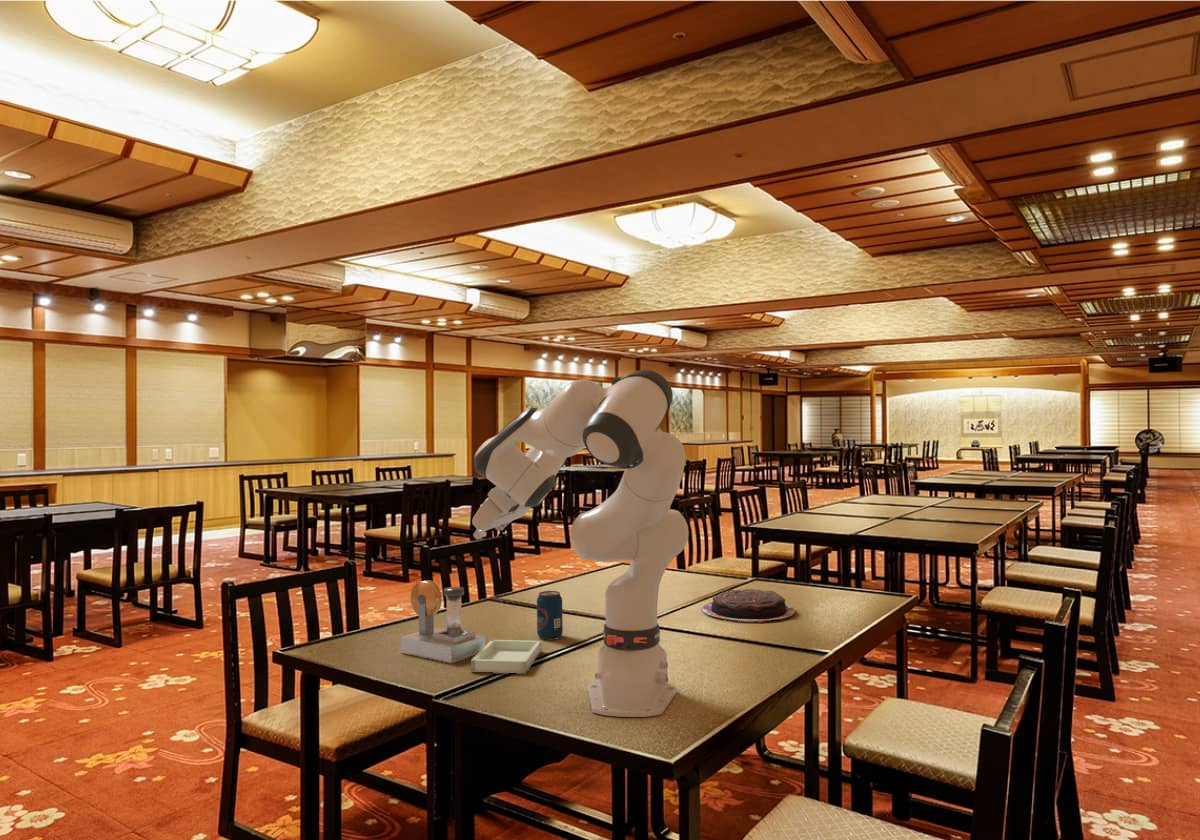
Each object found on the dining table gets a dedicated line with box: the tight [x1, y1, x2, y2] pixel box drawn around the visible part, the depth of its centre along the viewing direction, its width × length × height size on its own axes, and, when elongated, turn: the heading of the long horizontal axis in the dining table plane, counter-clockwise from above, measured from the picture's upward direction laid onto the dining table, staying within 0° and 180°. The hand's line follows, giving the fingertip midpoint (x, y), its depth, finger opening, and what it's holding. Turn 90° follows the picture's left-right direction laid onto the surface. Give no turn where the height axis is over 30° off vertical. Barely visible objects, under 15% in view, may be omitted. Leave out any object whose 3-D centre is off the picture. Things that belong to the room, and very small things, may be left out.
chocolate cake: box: [701, 588, 796, 623], centre depth 236 cm, size 28×28×7 cm
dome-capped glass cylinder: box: [443, 586, 465, 636], centre depth 195 cm, size 5×5×12 cm
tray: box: [470, 639, 542, 675], centre depth 188 cm, size 18×13×3 cm
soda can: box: [536, 590, 564, 640], centre depth 210 cm, size 7×7×12 cm
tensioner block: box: [400, 579, 486, 664], centre depth 198 cm, size 20×12×18 cm, turn 56°
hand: (487, 533), depth 190 cm, fingers open, 8 cm apart
